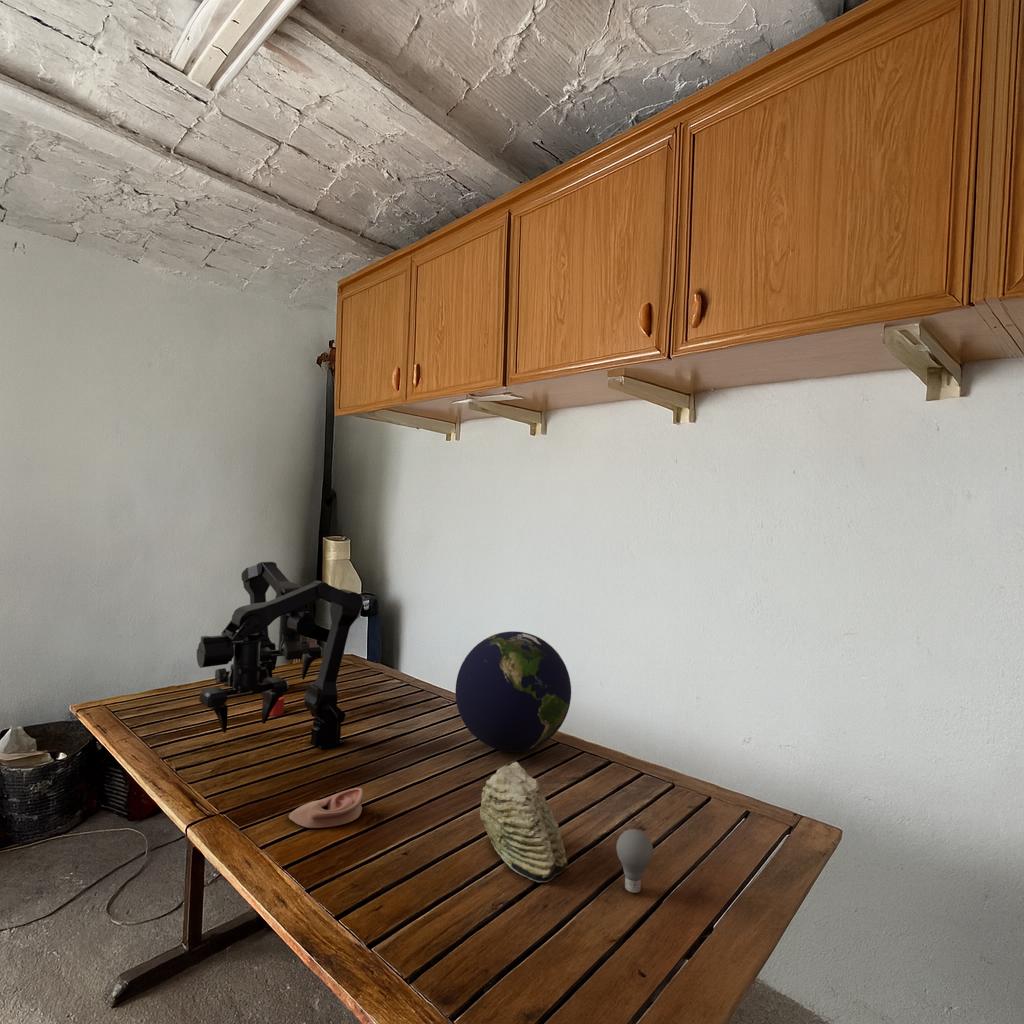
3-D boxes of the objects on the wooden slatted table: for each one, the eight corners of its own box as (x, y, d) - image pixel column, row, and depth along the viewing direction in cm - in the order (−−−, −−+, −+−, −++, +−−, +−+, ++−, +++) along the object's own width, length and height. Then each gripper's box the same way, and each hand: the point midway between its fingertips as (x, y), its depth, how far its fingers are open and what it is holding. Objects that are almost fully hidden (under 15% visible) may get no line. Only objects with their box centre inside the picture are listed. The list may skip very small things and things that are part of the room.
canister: (267, 716, 180) (268, 700, 180) (267, 711, 184) (268, 696, 184) (283, 715, 181) (284, 699, 181) (283, 710, 185) (284, 695, 185)
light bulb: (610, 879, 108) (613, 822, 108) (644, 879, 109) (647, 822, 109) (619, 902, 102) (622, 840, 102) (655, 901, 103) (658, 840, 103)
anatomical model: (280, 803, 122) (311, 778, 133) (279, 823, 122) (310, 796, 133) (344, 813, 119) (370, 786, 130) (343, 834, 119) (369, 805, 130)
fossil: (501, 827, 124) (504, 751, 124) (575, 868, 111) (578, 784, 111) (467, 843, 118) (470, 763, 118) (541, 889, 105) (545, 799, 105)
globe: (499, 719, 185) (504, 617, 185) (589, 746, 168) (594, 633, 167) (428, 749, 161) (433, 631, 160) (525, 784, 144) (531, 652, 143)
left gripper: (261, 637, 177) (259, 692, 177) (328, 632, 187) (326, 685, 187) (254, 628, 186) (252, 681, 187) (318, 625, 196) (316, 674, 196)
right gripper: (270, 648, 160) (267, 710, 160) (191, 660, 147) (189, 726, 147) (290, 658, 152) (288, 722, 153) (210, 670, 139) (207, 741, 139)
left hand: (287, 680), depth 189 cm, fingers open, 9 cm apart
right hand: (244, 727), depth 148 cm, fingers open, 9 cm apart
